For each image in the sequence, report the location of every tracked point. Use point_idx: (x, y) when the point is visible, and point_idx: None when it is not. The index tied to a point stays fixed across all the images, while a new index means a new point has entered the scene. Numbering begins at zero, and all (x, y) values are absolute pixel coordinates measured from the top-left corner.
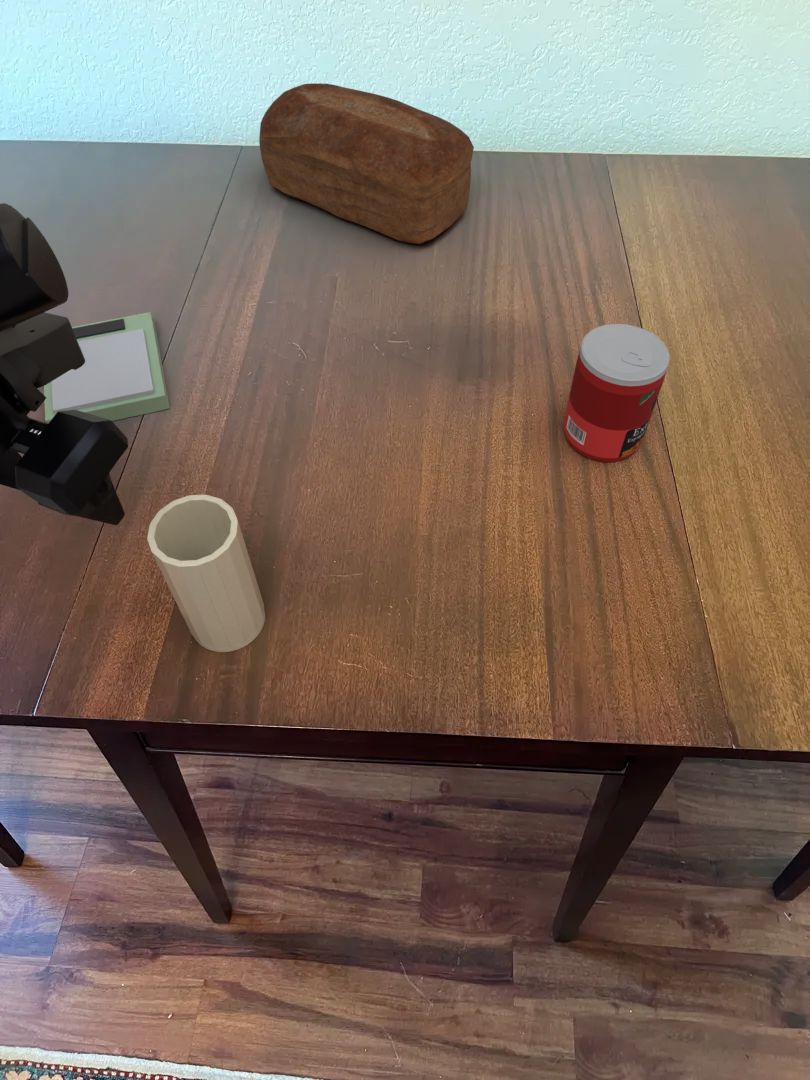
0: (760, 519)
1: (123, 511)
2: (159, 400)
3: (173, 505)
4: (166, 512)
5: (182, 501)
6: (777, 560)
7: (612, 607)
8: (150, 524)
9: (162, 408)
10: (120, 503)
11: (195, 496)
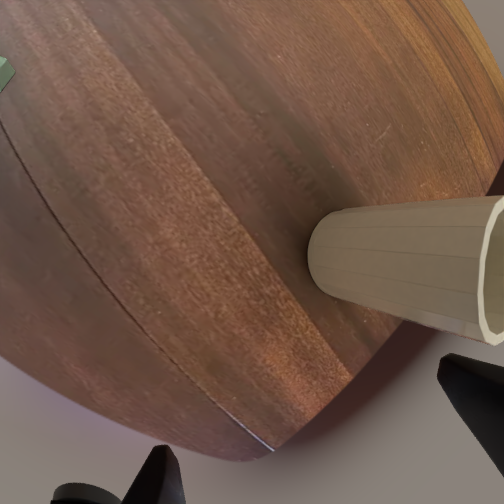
0: (460, 7)
1: (457, 356)
2: (2, 71)
3: (484, 264)
4: (482, 283)
5: (487, 245)
6: (476, 29)
7: (472, 79)
8: (480, 322)
9: (8, 79)
10: (481, 361)
11: (490, 219)
